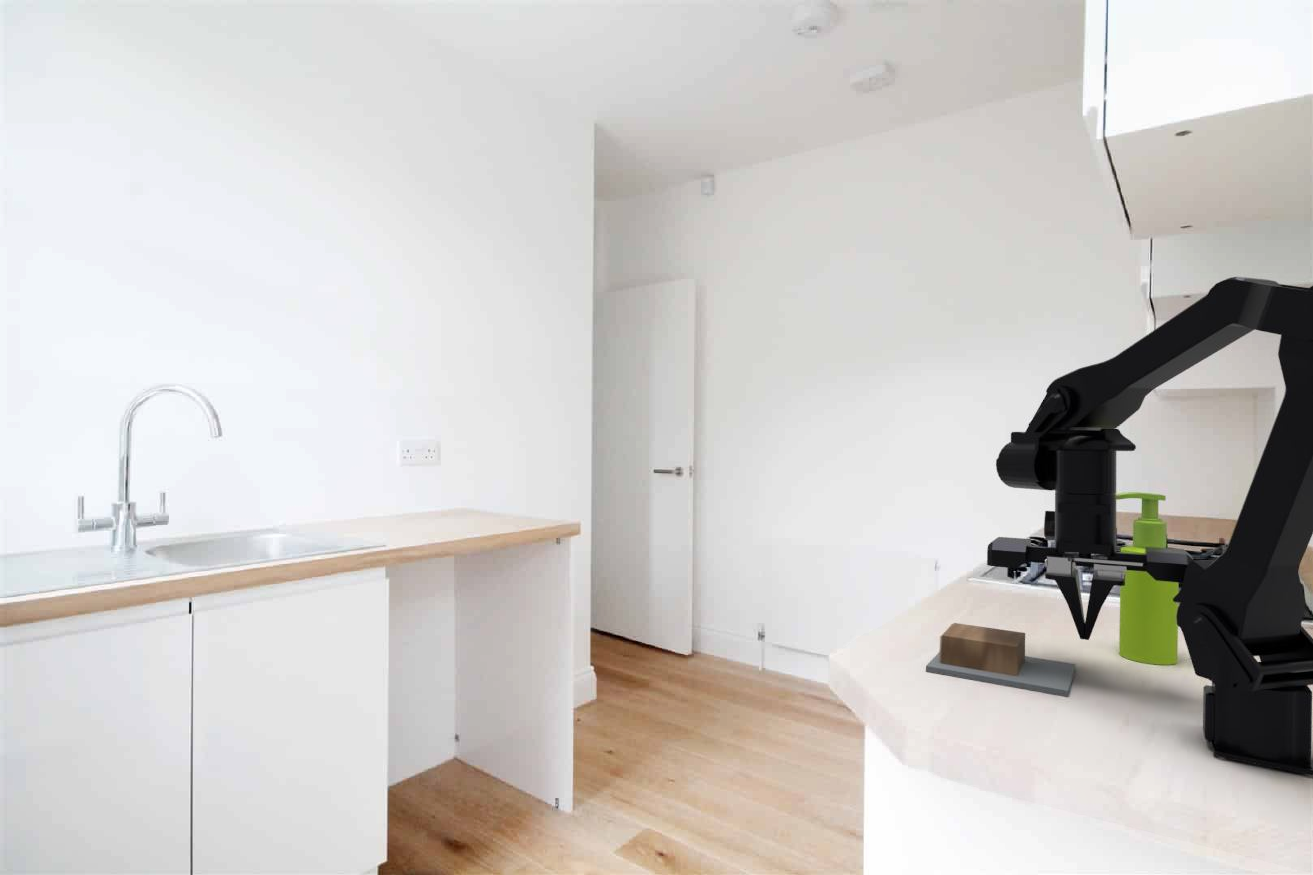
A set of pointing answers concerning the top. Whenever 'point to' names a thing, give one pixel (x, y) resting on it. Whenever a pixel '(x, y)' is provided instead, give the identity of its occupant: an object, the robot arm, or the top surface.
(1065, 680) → the mat
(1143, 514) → the soap dispenser
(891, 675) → the top surface
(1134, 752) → the top surface
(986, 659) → the walnut slab
